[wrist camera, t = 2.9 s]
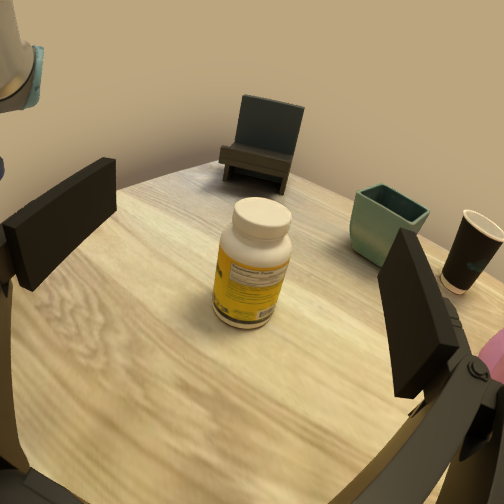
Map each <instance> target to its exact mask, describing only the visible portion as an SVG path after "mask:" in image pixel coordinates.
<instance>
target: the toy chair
mask: <svg viewBox="0 0 504 504" xmlns="http://www.w3.org/2000/svg"><path fill="white" fill-rule="evenodd" d="M304 109H305V108H304V107H302V106H298V105H293V104H289V103H285V102H280V101H276V100H271V99H266V98H261V97H256V96H251V95H243V96H242V102H241V107H240V114H239V119H238V125H237V130H236V136H235V142H234V143H233V144H232V145H231V146H230V147H228V146H221V149H220V156H219V163H221V164H225V168H224V175H223V181H228V179H229V178H230V177H231V175H232V174H233V173H239V174H243V175H248V176H252V177H256V178H260V179H265V180H269V181H273V182H277V183H281V188H280V192H279V194H281V195H284V191H285V187H286V184H287V180H288V176H289V172H290V167H291V163H292V158H293V155H294V151H295V147H296V142H297V138H298V134H299V130H300V126H301V121H302V117H303V112H304Z"/></svg>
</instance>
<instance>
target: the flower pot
mask: <svg viewBox="0 0 504 504" xmlns="http://www.w3.org/2000/svg"><path fill="white" fill-rule="evenodd" d="M429 213H430V210H428V209H427V208H425V207H424V206H422V205H420V204H419V203H417V202H415V201H413V200H412V199H410V198H408V197H406V196H405V195H403V194H401V193H399V192H398V191H396V190H394V189H393V188H391V187H389V186H387V185H385V184H383V183H379V184H376V185H374V186H371V187H368V188H365V189H362V190H358V191H357V192H356V196H355V201H354V205H353V210H352V215H351V220H350V239H351V243H352V246H353V249H354V250H355V251H356V252H358V253H359V254H361V255H362V256H364V257H365V258H367V259H368V260H370V261H371V262H373V263H374V264H376V265H377V266H379V267H382V266H383V263H384V261H385V259H386V257H387V255H388V253H389V251H390V248H391V246H392V244H393V242H394V239H395V237H396V235H397V233H398V230H399V228H400V227H401V228H404V229H407V230H410V231H414V232H415V233H416V235H417V234H418V232H419V230H420V229H421V227H422V225H423V224H424V222H425V220H426V219H427V217H428V215H429Z"/></svg>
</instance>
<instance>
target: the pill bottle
mask: <svg viewBox="0 0 504 504" xmlns="http://www.w3.org/2000/svg"><path fill="white" fill-rule="evenodd" d="M291 219H292V216H291V213H290V211H289V210H288V209H287V208H286V207H285V206H283V205H282V204H280V203H278V202H276V201H273V200H270V199H266V198H259V197H250V198H244V199H242V200H240V201H238V202H237V203H236V204H235V207H234V212H233V217H232V223H230V224H229V225H228V226H227V227H226V228H225V229H224V230H223V232H222V234H221V238H220V244H219V252H218V260H217V267H216V274H215V282H214V289H213V299H212V304H213V309H214V311H215V313H216V314H217V315H218V317H219V318H220V319H221V320H223V321H224V322H226V323H228V324H230V325H232V326H235V327H238V328H245V329H251V328H256V327H259V326H261V325H263V324H265V323H266V322H267V321H268V320H269V319H270V318H271V316H272V314H273V312H274V309H275V306H276V303H277V300H278V296H279V293H280V290H281V286H282V283H283V280H284V277H285V273H286V270H287V267H288V264H289V260H290V257H291V253H292V243H291V240H290V238H289V236H288V235H287V233H288V230H289V227H290V223H291Z"/></svg>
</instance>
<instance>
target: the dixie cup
mask: <svg viewBox="0 0 504 504" xmlns="http://www.w3.org/2000/svg"><path fill="white" fill-rule="evenodd" d="M503 242H504V232H503V231H502V230H501V229H500V228H499V227H498V226H497V225H496V224H495V223H493V222H492V221H491V220H489V219H488V218H486V217H485V216H483V215H481V214H479V213H477V212H474V211H472V210H464V211H463V218H462V221H461V224H460V226H459V230H458V232H457V235H456V237H455V240H454V243H453V245H452V248H451V250H450V253H449V255H448V258H447V260H446V262H445V265H444V267H443V270H442V275H441V281H442V283H443V284H444V286H445V287H446V288H448V289H449V290H450V291H452V292H454V293H456V294H463V293H464V292H465V291H466V290H468V289H469V288H470V287H471V286H472V284H473V283H474V282H475V280H476V279H477V278H478V277H479V275H480V274H481V273H482V271H483V270H484V269H485V267H486V266H487V264H488V263H489V262H490V260H491V259H492V258H493V256H494V255H495V253H496V252H497V250H498V249H499V247H500V246H501V245H502V243H503Z"/></svg>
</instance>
